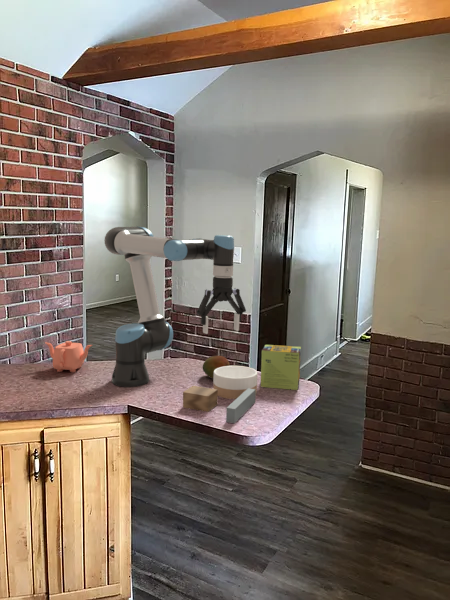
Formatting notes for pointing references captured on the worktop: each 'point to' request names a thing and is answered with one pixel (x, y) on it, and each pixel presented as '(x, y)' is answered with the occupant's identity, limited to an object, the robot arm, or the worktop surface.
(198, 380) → the worktop surface
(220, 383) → the bowl
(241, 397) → the grey long rectangular bar
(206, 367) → the fruit
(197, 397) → the walnut block
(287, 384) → the protein box
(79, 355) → the teapot
